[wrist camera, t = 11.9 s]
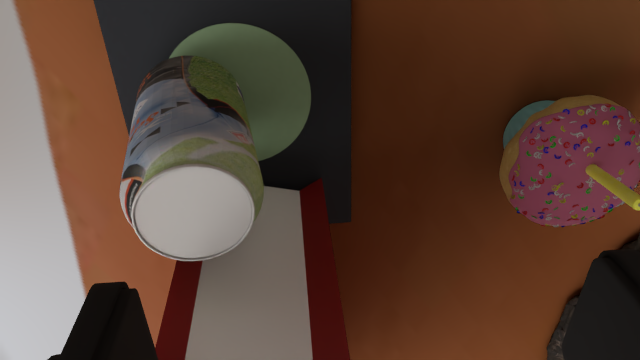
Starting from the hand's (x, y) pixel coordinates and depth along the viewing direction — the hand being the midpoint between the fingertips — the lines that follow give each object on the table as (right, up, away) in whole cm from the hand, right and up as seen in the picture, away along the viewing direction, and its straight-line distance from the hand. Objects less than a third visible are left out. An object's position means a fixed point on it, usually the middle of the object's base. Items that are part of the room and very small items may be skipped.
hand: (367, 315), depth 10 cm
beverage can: (-8, +8, +20) cm, 22 cm away
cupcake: (+14, +6, +23) cm, 28 cm away
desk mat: (-6, +8, +20) cm, 22 cm away
